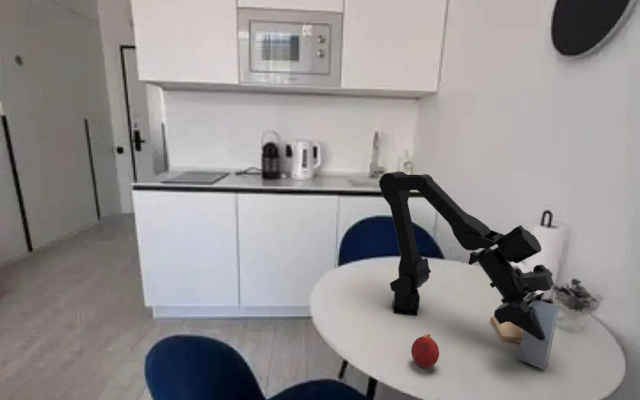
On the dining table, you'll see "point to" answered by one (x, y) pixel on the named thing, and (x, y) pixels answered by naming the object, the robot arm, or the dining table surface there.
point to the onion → (425, 351)
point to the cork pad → (507, 331)
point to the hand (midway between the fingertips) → (545, 334)
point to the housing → (546, 320)
